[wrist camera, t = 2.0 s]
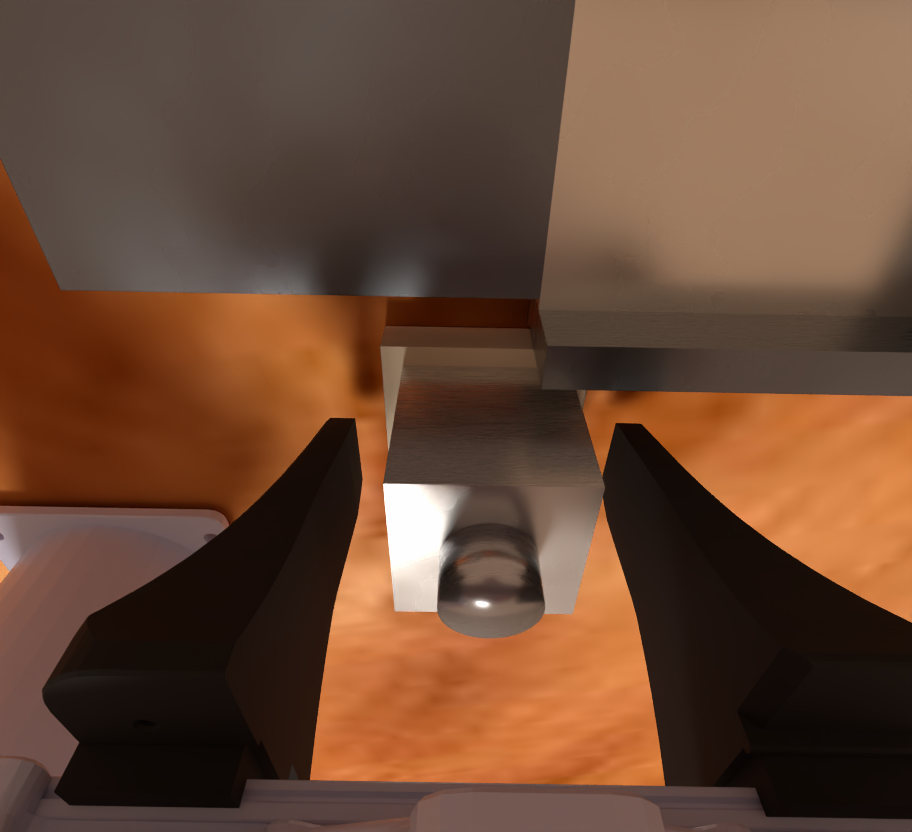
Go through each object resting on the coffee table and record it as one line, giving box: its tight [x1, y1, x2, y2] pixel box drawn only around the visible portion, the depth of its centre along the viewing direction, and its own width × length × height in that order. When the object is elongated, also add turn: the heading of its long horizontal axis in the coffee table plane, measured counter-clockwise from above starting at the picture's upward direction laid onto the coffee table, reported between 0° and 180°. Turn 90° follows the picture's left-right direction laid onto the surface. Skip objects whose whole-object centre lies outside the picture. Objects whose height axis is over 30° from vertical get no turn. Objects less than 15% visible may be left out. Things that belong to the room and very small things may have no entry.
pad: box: [380, 326, 587, 450], centre depth 15 cm, size 5×5×1 cm
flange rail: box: [0, 0, 912, 396], centre depth 10 cm, size 8×19×3 cm, turn 89°
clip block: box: [383, 365, 605, 638], centre depth 12 cm, size 4×4×5 cm
